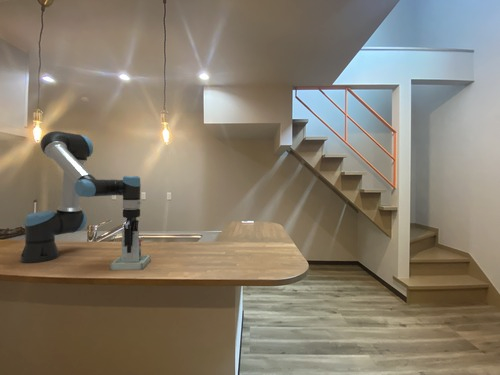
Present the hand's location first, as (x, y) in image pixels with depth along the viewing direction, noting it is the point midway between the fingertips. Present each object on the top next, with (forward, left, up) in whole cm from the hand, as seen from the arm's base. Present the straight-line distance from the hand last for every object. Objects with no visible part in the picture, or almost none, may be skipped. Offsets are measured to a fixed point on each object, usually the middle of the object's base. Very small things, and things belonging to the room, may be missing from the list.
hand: (131, 257), depth 126 cm
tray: (0, 0, -4) cm, 4 cm away
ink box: (0, 0, -2) cm, 2 cm away
